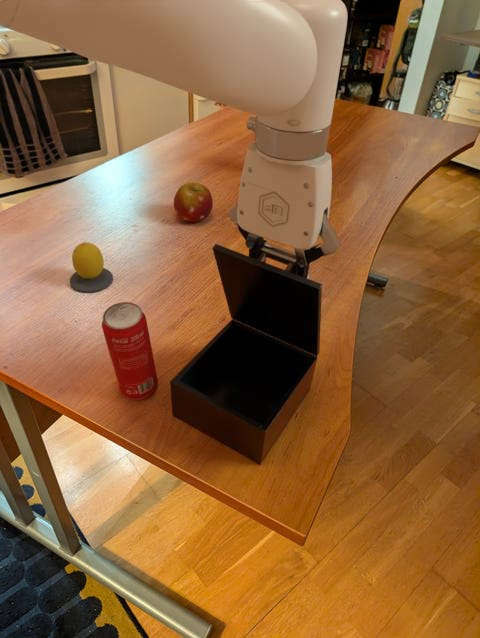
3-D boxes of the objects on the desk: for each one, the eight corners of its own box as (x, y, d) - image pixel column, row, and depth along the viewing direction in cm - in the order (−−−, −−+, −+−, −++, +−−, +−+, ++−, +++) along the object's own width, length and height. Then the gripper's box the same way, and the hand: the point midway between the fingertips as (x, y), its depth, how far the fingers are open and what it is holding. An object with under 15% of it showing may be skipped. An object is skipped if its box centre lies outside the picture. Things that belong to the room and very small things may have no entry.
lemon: (71, 284, 87) (63, 248, 82) (83, 268, 91) (76, 233, 86) (99, 289, 86) (92, 252, 81) (110, 272, 91) (105, 237, 85)
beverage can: (164, 380, 71) (158, 305, 61) (140, 410, 66) (129, 334, 57) (132, 367, 73) (121, 291, 63) (107, 395, 68) (90, 319, 58)
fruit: (206, 230, 106) (206, 198, 101) (168, 224, 107) (167, 192, 102) (216, 211, 113) (217, 180, 108) (181, 206, 114) (180, 175, 109)
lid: (319, 289, 52) (338, 257, 54) (212, 247, 57) (233, 220, 59) (317, 356, 66) (332, 329, 68) (231, 318, 71) (247, 294, 73)
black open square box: (260, 465, 61) (265, 432, 56) (172, 415, 66) (169, 381, 61) (310, 389, 71) (317, 356, 66) (230, 351, 76) (232, 318, 72)
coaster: (91, 298, 85) (91, 296, 85) (61, 283, 88) (60, 281, 88) (121, 277, 90) (121, 275, 90) (91, 264, 93) (91, 262, 93)
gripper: (204, 130, 49) (206, 270, 61) (356, 170, 43) (325, 318, 55) (241, 112, 54) (236, 245, 66) (382, 145, 47) (348, 286, 59)
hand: (276, 277), depth 60 cm, fingers closed on lid, 5 cm apart
